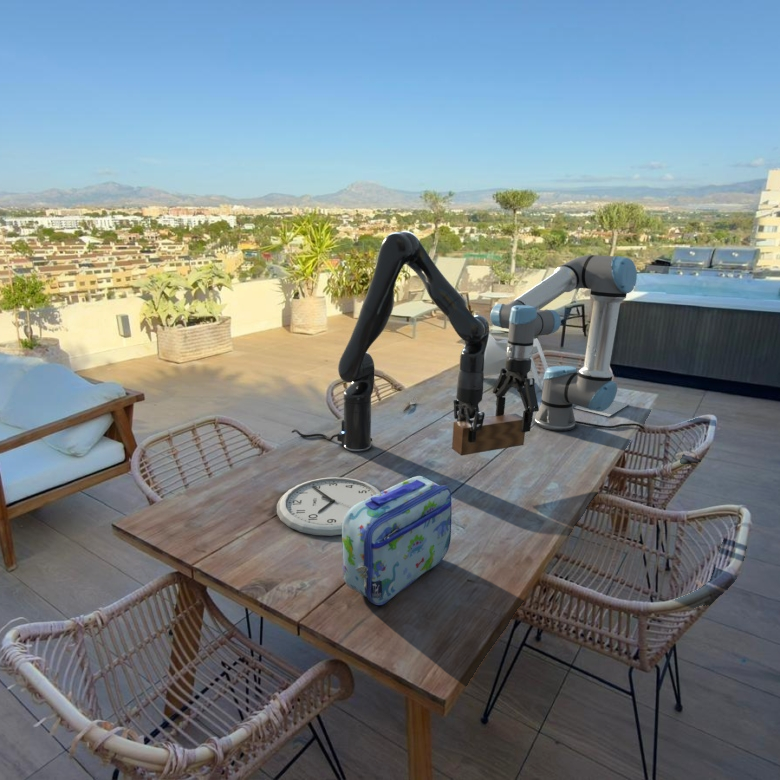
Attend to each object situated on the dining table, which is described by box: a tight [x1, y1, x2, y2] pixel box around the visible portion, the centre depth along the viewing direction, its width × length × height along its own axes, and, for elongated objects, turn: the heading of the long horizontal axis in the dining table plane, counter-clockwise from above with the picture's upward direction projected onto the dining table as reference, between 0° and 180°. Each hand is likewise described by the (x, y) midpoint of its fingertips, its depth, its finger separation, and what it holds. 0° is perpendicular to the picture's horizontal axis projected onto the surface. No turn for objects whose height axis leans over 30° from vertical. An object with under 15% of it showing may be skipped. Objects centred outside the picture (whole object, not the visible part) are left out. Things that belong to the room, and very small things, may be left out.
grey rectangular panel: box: [573, 401, 629, 418], centre depth 226 cm, size 21×1×15 cm
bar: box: [451, 412, 526, 457], centre depth 161 cm, size 23×6×9 cm, turn 113°
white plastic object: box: [483, 333, 549, 391], centre depth 258 cm, size 37×45×31 cm
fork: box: [403, 396, 419, 412], centre depth 222 cm, size 3×16×2 cm, turn 160°
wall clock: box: [276, 476, 382, 537], centre depth 142 cm, size 30×2×30 cm
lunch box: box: [341, 475, 453, 606], centre depth 111 cm, size 26×11×21 cm, turn 134°
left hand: (466, 437), depth 158 cm, fingers closed on bar, 5 cm apart
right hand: (512, 423), depth 163 cm, fingers open, 13 cm apart
